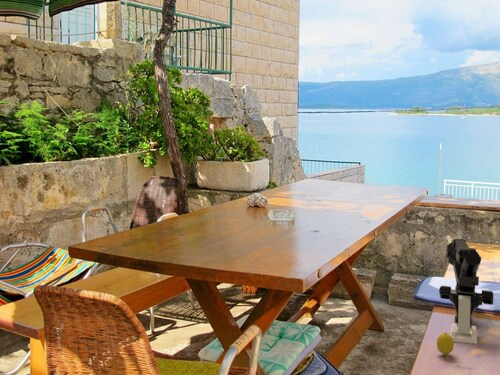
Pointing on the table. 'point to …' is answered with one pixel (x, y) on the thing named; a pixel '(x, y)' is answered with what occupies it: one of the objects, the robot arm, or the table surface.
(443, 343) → the lemon
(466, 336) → the rack
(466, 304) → the clay bar
